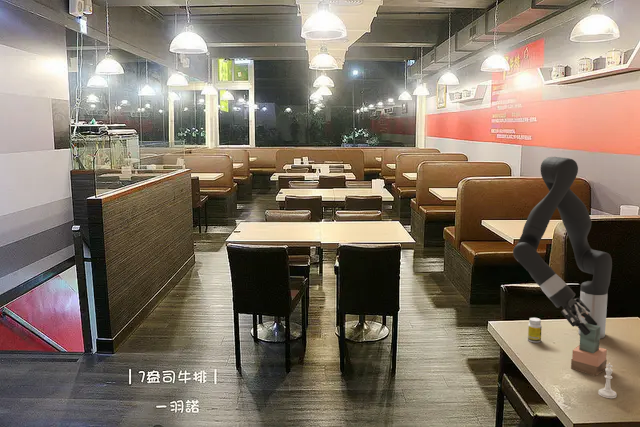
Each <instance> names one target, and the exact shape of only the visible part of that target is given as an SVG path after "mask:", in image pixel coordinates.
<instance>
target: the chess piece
mask: <svg viewBox="0 0 640 427" xmlns="http://www.w3.org/2000/svg"><path fill="white" fill-rule="evenodd" d="M604 371H605V373H606V374H604V378H605V386H604V387H602V388H600V389H598V391H597V393H598V395H599V396H600V397H603V398H607V399H615V398H617V392H616V391H614V390H613V389H612V387H611V379H613V376H612V373H613V371H614V370H613V365H612V364H611V362H608V364H607V363H606V368H605V370H604Z"/></svg>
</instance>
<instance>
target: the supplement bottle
mask: <svg viewBox="0 0 640 427" xmlns="http://www.w3.org/2000/svg"><path fill="white" fill-rule="evenodd" d="M528 321H529V323H528V324H527V341H528V342H531V343H534V344H536V343H541V341H542V327H543V326H542V320H541V318H538V317H529V320H528Z"/></svg>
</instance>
